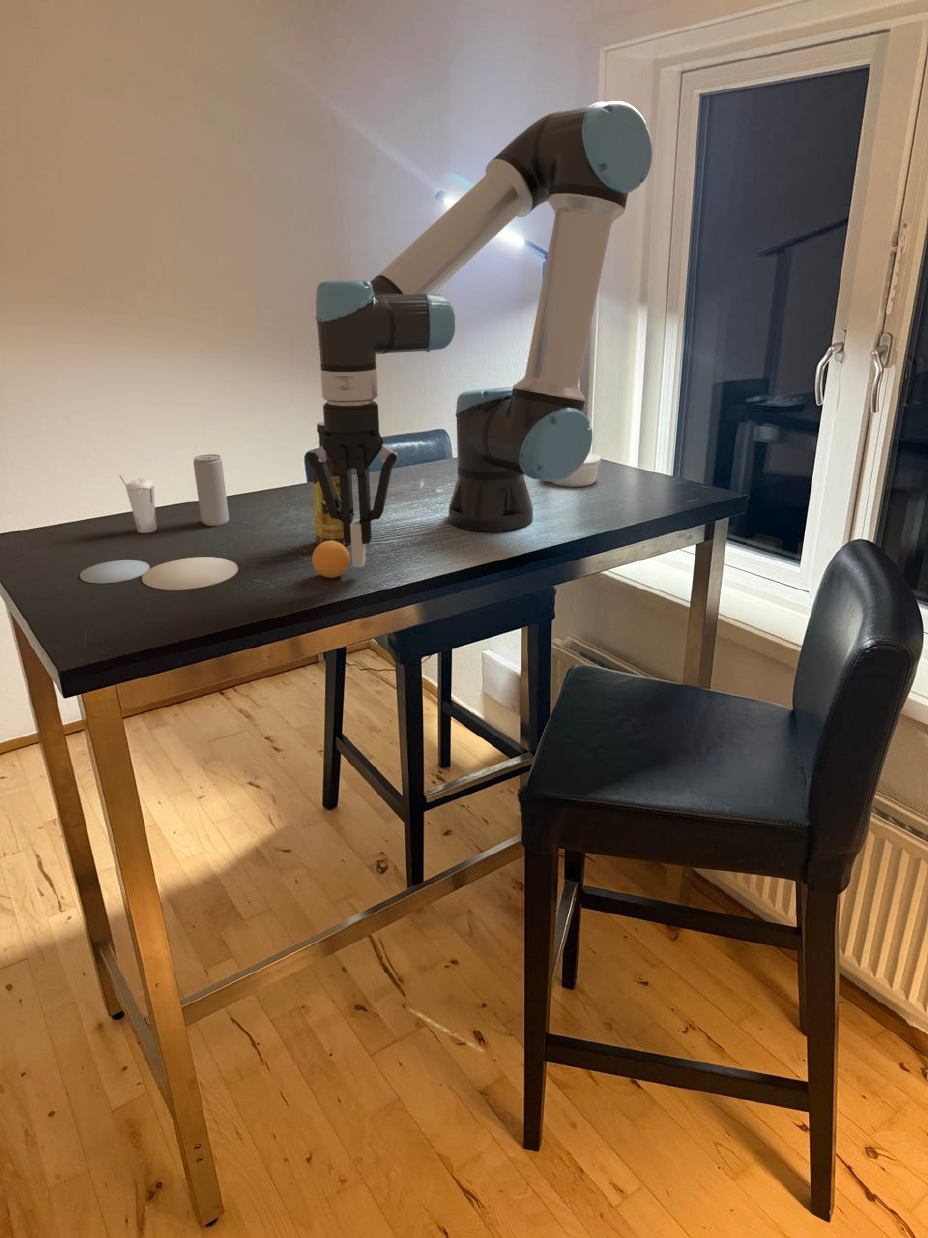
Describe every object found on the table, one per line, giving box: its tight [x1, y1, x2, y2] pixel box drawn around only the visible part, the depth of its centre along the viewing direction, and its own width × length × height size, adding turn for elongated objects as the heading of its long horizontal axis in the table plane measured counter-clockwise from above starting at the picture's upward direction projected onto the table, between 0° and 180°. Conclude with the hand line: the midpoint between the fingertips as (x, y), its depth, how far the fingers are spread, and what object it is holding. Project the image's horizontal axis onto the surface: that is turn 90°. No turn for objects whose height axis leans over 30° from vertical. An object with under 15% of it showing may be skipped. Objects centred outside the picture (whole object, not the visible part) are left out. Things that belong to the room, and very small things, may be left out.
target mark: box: [141, 556, 239, 591], centre depth 130 cm, size 14×14×1 cm
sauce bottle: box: [312, 421, 350, 547], centre depth 139 cm, size 6×6×20 cm
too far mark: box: [79, 559, 151, 585], centre depth 131 cm, size 10×10×1 cm
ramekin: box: [551, 452, 602, 488], centre depth 178 cm, size 11×11×5 cm
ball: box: [312, 541, 351, 579], centre depth 127 cm, size 6×6×6 cm
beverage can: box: [193, 453, 230, 527], centre depth 152 cm, size 5×5×12 cm
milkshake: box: [119, 475, 157, 534], centre depth 149 cm, size 4×5×10 cm
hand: (359, 563), depth 126 cm, fingers closed
